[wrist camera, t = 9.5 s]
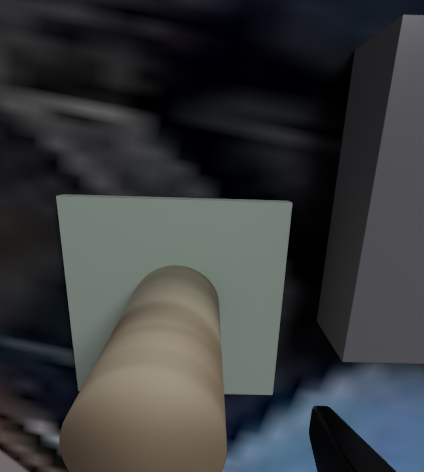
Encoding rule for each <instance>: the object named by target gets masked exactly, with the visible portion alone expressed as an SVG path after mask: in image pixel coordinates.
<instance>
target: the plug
mask: <svg viewBox="0 0 424 472" xmlns="http://www.w3.org/2000/svg"><path fill="white" fill-rule="evenodd" d="M60 451H61V455H62V458H63V461H64V463H65V465H66V467H67V469H68V471H69V472H221V471H222V469H223V467H224V464H225V461H226V454H227V440H226V422H225V403H224V385H223V367H222V348H221V330H220V312H219V299H218V295H217V292H216V290H215V288H214V286H213V284H212V283H211V282H210V281H209V279H208V278H207V277H205V276H204V275H203V274H201V273H200V272H198V271H196V270H194V269H192V268H189V267H185V266H178V265H174V266H165V267H162V268H159V269H156V270H154V271H152V272H151V273H149V274H148V275H147V276H145V278H144V279H143V280H142V281H141V282H140V284H139V285H138V287H137V289H136V291H135V292H134V294H133V296H132V298H131V300H130V302H129V303H128V305H127V307H126V309H125V311H124V312H123V314H122V316H121V318H120V320H119V322H118V323H117V325H116V327H115V329H114V331H113V332H112V334H111V336H110V338H109V340H108V342H107V343H106V345H105V347H104V349H103V351H102V352H101V354H100V356H99V358H98V360H97V362H96V363H95V365H94V367H93V369H92V371H91V372H90V374H89V376H88V378H87V380H86V382H85V383H84V385H83V387H82V389H81V391H80V392H79V394H78V396H77V398H76V400H75V402H74V403H73V405H72V407H71V409H70V411H69V412H68V414H67V416H66V418H65V420H64V422H63V425H62V428H61V431H60Z"/></svg>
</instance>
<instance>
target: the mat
mask: <svg viewBox="0 0 424 472" xmlns="http://www.w3.org/2000/svg"><path fill="white" fill-rule="evenodd" d="M56 200H57V208H58V217H59V226H60V235H61V244H62V252H63V261H64V270H65V279H66V287H67V296H68V305H69V314H70V322H71V331H72V340H73V349H74V357H75V366H76V375H77V384H78V391H81V389H82V387H83V385H84V383H85V382H86V380H87V378H88V376H89V374H90V372H91V371H92V369H93V367H94V365H95V363H96V362H97V360H98V358H99V356H100V354H101V352H102V351H103V349H104V347H105V345H106V343H107V342H108V340H109V338H110V336H111V334H112V332H113V331H114V329H115V327H116V325H117V323H118V322H119V320H120V318H121V316H122V314H123V312H124V311H125V309H126V307H127V305H128V303H129V302H130V300H131V298H132V296H133V294H134V292H135V291H136V289H137V287H138V285H139V284H140V282H141V281H142V280H143V279H144V278H145V276H147V275H148V274H149V273H151V272H152V271H154V270H156V269H159V268H162V267H165V266H174V265H178V266H185V267H189V268H192V269H194V270H196V271H198V272H200V273H201V274H203V275H204V276H205V277H207V278H208V279H209V281H210V282H211V283H212V284H213V286H214V288H215V290H216V292H217V295H218V299H219V312H220V330H221V348H222V367H223V385H224V394H252V395H273V386H274V376H275V366H276V356H277V347H278V337H279V327H280V318H281V308H282V298H283V289H284V279H285V269H286V260H287V250H288V240H289V230H290V221H291V211H292V202H290V201H279V200H243V199H208V198H173V197H137V196H102V195H67V194H63V195H59V196H56Z"/></svg>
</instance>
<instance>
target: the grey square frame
mask: <svg viewBox="0 0 424 472" xmlns="http://www.w3.org/2000/svg"><path fill="white" fill-rule="evenodd" d="M317 322H318V324H319V326H320V327H321V329H322V330H323V332H324V333H325V335H326V337H327V338H328V340H329V341H330V343H331V345H332V346H333V348H334V349H335V351H336V352H337V354H338V356H339V357H340V359H341V360H342V362H370V363H415V364H424V15H402V16H401V17H399V18H398V19H397V20H395V21H394V22H392V23H391V24H390V25H388V26H387V27H385V28H384V29H383V30H381V31H380V32H379V33H377V34H376V35H374V36H373V37H372V38H370V39H369V40H368V41H366V42H365V43H363V44H362V45H361V46H359V47H358V48H356V49H355V53H354V60H353V67H352V74H351V81H350V88H349V95H348V102H347V109H346V117H345V124H344V131H343V138H342V145H341V152H340V159H339V166H338V173H337V180H336V187H335V195H334V202H333V209H332V216H331V223H330V230H329V237H328V244H327V251H326V258H325V265H324V273H323V280H322V287H321V294H320V301H319V308H318V315H317Z"/></svg>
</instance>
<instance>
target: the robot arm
mask: <svg viewBox="0 0 424 472" xmlns="http://www.w3.org/2000/svg"><path fill="white" fill-rule="evenodd" d="M309 436H310V441H311V446H312V450H313V454H314V459H315V463H316V467H317V472H396V471H395V470H394V469H393V468H392V467H391V466H390V465H389V464H388V463H387V462H386V461H385V460H384V459H383V458H382V457H381V456H380V455H379V454H377V453H376V452H375V451H374V450H373V449H372V448H371V447H370V446H369V445H368V444H367V443H366V442H365V441H364V440H363V439H362V438H361V437H360V436H359V435H358V434H357V433H356V432H355V431H354V430H353V429H352V428H351V427H350V426H349V425H348V424H347V423H346V422H344V421H343V420H342V419H341V418H340V417H339V416H338V415H337V414H336V413H335V412H334V411H333V410H332V409H331V408H330V407H328V406H314V407H313V409H312V414H311V420H310V427H309Z"/></svg>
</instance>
